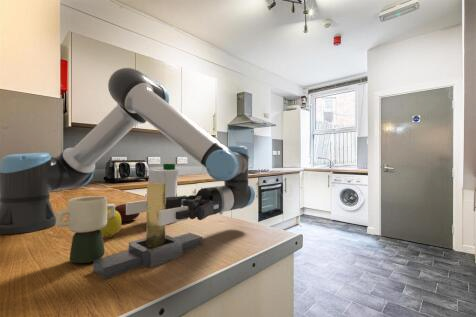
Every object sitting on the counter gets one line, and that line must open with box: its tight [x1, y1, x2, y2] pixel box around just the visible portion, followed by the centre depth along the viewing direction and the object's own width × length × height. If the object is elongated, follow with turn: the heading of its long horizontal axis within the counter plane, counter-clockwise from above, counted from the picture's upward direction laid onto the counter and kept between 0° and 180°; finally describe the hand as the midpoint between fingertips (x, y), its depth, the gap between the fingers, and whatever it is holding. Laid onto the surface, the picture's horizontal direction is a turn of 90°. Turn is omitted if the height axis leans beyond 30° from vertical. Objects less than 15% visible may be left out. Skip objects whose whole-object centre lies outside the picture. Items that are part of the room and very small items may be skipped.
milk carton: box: [148, 163, 180, 197], centre depth 82 cm, size 9×9×20 cm
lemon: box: [99, 208, 122, 238], centre depth 65 cm, size 6×6×8 cm
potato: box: [115, 203, 141, 223], centre depth 82 cm, size 7×10×6 cm
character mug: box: [55, 195, 116, 264], centre depth 50 cm, size 11×7×13 cm, turn 140°
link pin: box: [145, 182, 167, 249], centre depth 52 cm, size 4×4×16 cm
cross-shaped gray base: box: [92, 232, 203, 280], centre depth 52 cm, size 9×23×3 cm, turn 140°
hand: (141, 213), depth 50 cm, fingers open, 13 cm apart
